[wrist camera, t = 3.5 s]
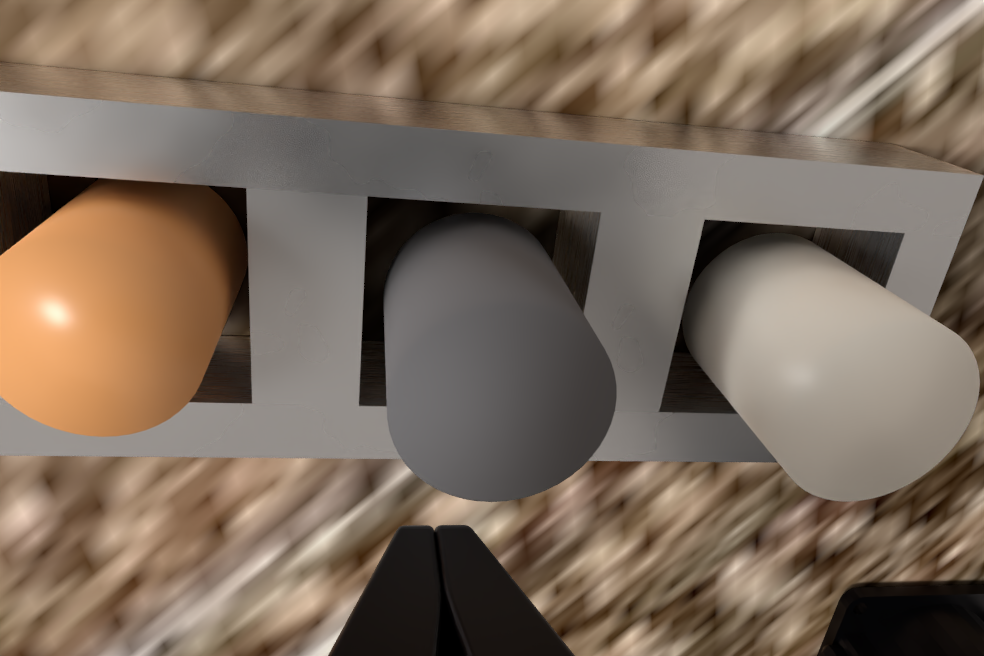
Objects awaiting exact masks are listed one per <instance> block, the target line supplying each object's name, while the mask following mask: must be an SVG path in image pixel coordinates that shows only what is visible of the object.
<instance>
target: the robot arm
mask: <svg viewBox="0 0 984 656" xmlns="http://www.w3.org/2000/svg"><path fill="white" fill-rule="evenodd" d="M328 656H575V655H574V654H573V653H572V652H571V650H570V649H569V648H568V647H567V645H566V644H565V643H564V642H563V641H562V639H561V638H560V637H559V636H558V634H557V633H556V632H555V631H554V629H553V628H552V627H551V626H550V624H549V623H548V622H547V621H546V620H545V618H544V617H543V616H542V615H541V613H540V612H539V611H538V610H537V608H536V607H535V606H534V605H533V604H532V602H531V601H530V600H529V599H528V597H527V596H526V595H525V594H524V592H523V591H522V590H521V589H520V587H519V586H518V585H517V584H516V583H515V581H514V580H513V579H512V578H511V576H510V575H509V574H508V573H507V571H506V570H505V569H504V568H503V567H502V565H501V564H500V563H499V562H498V560H497V559H496V558H495V557H494V555H493V554H492V553H491V552H490V550H489V549H488V548H487V547H486V546H485V544H484V543H483V542H482V541H481V539H480V538H479V537H478V536H477V534H476V533H475V532H474V531H473V530H472V528H470V527H469V526H466V525H440V526H438V527H436V529H435V531H434V530H433V528H432V527H431V526H428V525H426V526H401V527H399V528H398V529H397V531H396V532H395V534H394V536H393V538H392V540H391V542H390V543H389V545H388V547H387V549H386V551H385V553H384V554H383V556H382V558H381V560H380V562H379V564H378V565H377V567H376V569H375V571H374V573H373V574H372V576H371V578H370V580H369V582H368V584H367V585H366V587H365V589H364V591H363V593H362V595H361V596H360V598H359V600H358V602H357V604H356V606H355V607H354V609H353V611H352V613H351V615H350V617H349V618H348V620H347V622H346V624H345V626H344V628H343V629H342V631H341V633H340V635H339V637H338V639H337V640H336V642H335V644H334V646H333V648H332V650H331V651H330V653H329V655H328ZM817 656H984V585H946V586H902V587H859V588H853V589H851V590H849V591H847V592H846V593H844V594H843V595H842V597H841V598H840V600H839V602H838V605H837V607H836V610H835V612H834V615H833V617H832V620H831V622H830V625H829V627H828V630H827V632H826V635H825V637H824V640H823V642H822V645H821V647H820V650H819V652H818V655H817Z"/></svg>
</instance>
